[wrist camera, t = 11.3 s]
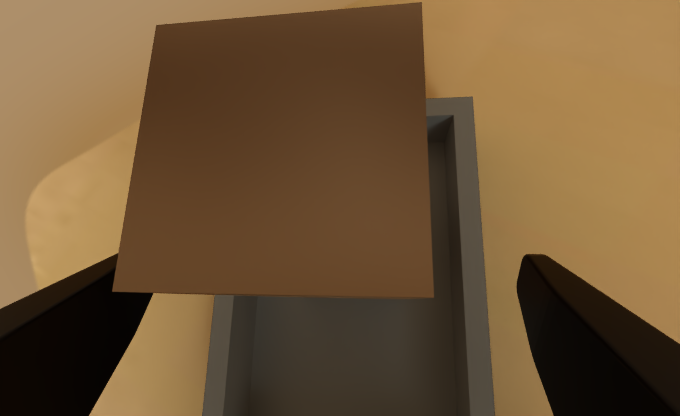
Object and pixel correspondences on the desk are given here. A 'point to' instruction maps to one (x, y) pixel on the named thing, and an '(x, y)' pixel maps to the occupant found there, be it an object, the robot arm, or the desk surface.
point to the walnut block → (283, 159)
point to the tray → (373, 321)
